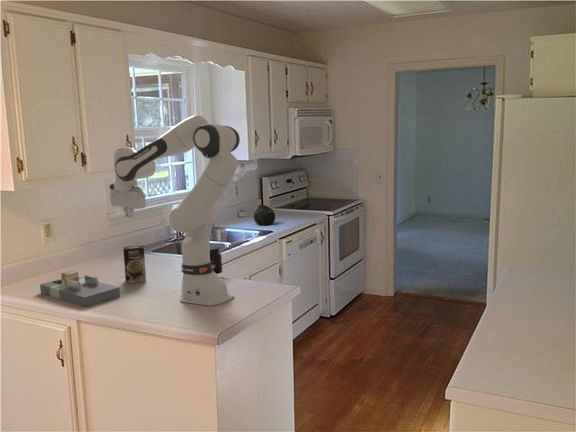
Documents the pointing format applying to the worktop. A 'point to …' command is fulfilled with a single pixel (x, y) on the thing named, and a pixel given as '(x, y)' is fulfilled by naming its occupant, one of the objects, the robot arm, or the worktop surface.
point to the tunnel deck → (81, 291)
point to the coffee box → (134, 264)
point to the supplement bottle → (216, 259)
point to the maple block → (69, 276)
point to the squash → (264, 215)
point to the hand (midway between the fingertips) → (129, 217)
